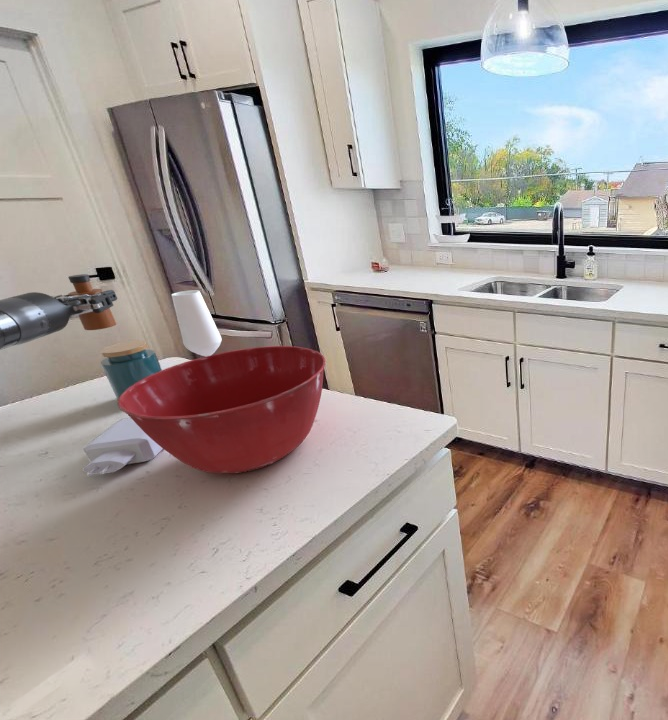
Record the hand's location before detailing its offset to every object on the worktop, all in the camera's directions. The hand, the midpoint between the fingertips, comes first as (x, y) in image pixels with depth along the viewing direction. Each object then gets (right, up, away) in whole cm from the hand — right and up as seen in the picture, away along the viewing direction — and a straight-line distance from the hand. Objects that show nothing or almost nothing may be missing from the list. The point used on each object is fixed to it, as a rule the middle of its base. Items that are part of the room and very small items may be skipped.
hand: (98, 295), depth 87 cm
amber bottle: (+1, -7, 0) cm, 7 cm away
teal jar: (+1, -22, +9) cm, 24 cm away
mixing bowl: (+41, -30, -11) cm, 52 cm away
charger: (+20, -31, -13) cm, 39 cm away
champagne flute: (+18, -22, +10) cm, 30 cm away
